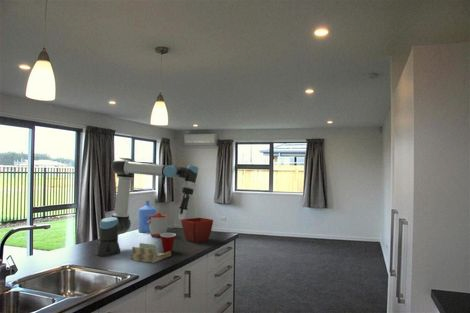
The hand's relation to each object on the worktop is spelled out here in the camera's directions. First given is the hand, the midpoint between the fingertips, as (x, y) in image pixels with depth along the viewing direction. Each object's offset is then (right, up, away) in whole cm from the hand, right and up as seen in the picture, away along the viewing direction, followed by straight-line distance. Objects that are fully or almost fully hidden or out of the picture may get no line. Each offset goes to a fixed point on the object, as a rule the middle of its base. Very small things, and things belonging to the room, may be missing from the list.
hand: (181, 218), depth 232 cm
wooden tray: (-17, -23, -11) cm, 31 cm away
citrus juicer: (-31, -26, +64) cm, 75 cm away
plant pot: (+6, -26, +44) cm, 51 cm away
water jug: (-44, -27, +85) cm, 99 cm away
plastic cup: (-10, -24, +6) cm, 27 cm away
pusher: (-19, -22, -14) cm, 31 cm away
